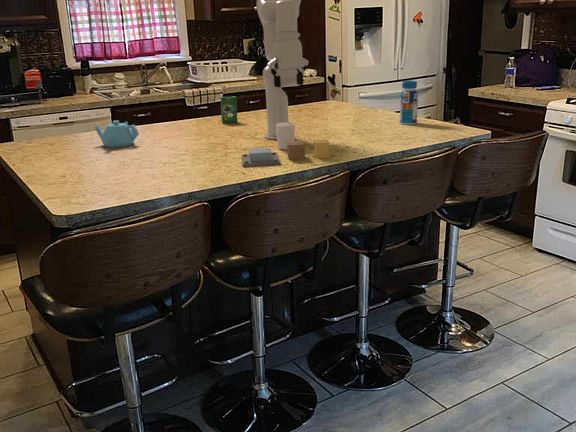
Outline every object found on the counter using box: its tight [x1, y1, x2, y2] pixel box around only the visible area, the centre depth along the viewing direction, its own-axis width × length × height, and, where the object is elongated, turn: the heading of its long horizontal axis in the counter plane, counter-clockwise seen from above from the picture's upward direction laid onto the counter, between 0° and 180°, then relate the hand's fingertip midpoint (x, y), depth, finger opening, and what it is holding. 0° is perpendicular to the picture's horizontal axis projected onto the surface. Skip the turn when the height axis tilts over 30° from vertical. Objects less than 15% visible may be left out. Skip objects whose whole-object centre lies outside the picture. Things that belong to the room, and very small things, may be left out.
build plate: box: [240, 147, 281, 168], centre depth 231 cm, size 14×14×4 cm
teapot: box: [94, 120, 139, 149], centre depth 267 cm, size 15×15×11 cm
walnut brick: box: [287, 140, 306, 161], centre depth 233 cm, size 6×6×6 cm
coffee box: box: [220, 95, 238, 124], centre depth 309 cm, size 8×3×13 cm, turn 103°
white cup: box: [276, 122, 296, 151], centre depth 250 cm, size 8×8×10 cm
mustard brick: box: [313, 139, 330, 159], centre depth 234 cm, size 5×5×6 cm
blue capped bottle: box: [399, 79, 419, 126], centre depth 288 cm, size 8×8×20 cm
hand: (288, 85), depth 222 cm, fingers open, 9 cm apart
